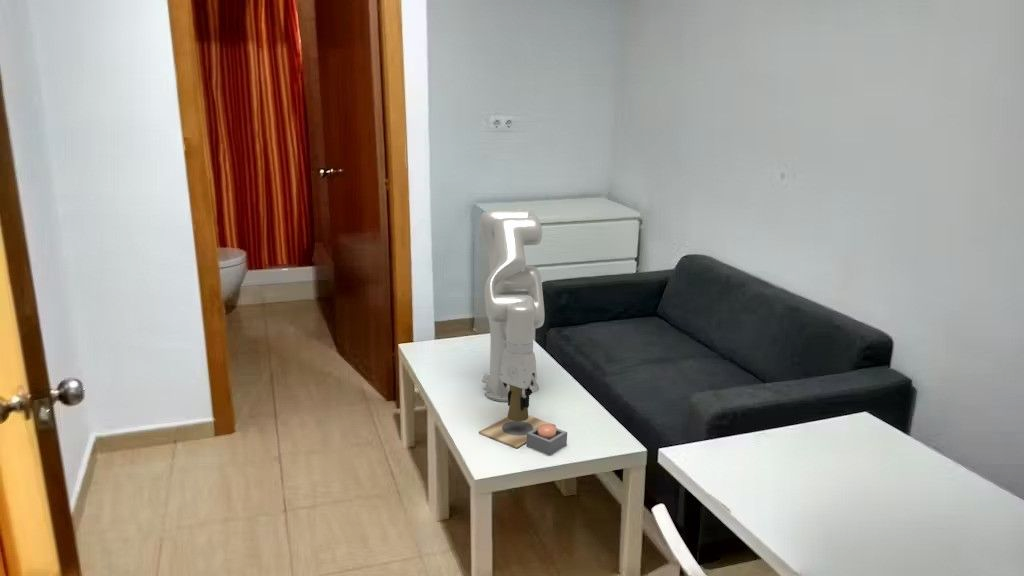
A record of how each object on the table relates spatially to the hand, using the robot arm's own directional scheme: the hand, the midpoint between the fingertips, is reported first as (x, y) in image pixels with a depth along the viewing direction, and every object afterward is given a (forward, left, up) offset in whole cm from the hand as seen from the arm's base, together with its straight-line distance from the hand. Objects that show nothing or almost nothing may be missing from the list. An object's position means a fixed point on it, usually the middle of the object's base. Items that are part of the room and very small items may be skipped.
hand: (518, 406), depth 224 cm
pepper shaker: (0, 0, -3) cm, 3 cm away
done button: (+12, -2, -5) cm, 13 cm away
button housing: (+12, -2, -8) cm, 14 cm away
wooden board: (0, 0, -8) cm, 8 cm away
